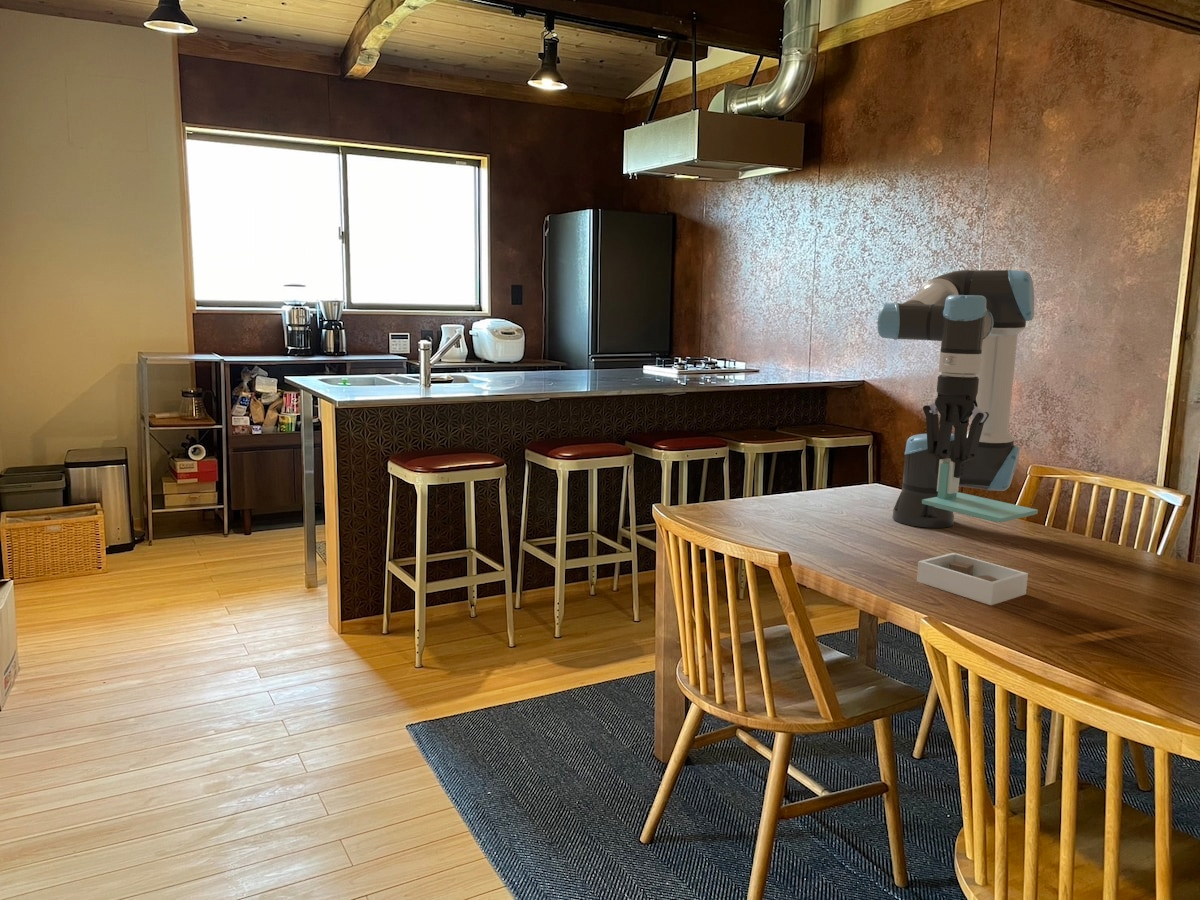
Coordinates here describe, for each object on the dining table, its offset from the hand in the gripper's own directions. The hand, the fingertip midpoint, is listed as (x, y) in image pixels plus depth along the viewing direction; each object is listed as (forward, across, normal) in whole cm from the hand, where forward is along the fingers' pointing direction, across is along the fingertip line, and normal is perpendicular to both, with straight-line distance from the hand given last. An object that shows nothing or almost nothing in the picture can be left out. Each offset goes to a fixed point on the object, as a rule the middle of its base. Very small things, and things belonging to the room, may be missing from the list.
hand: (947, 491), depth 173 cm
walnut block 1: (+18, +4, +2) cm, 18 cm away
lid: (+2, +7, 0) cm, 7 cm away
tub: (+19, +7, 0) cm, 20 cm away
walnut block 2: (+18, +12, -2) cm, 22 cm away
